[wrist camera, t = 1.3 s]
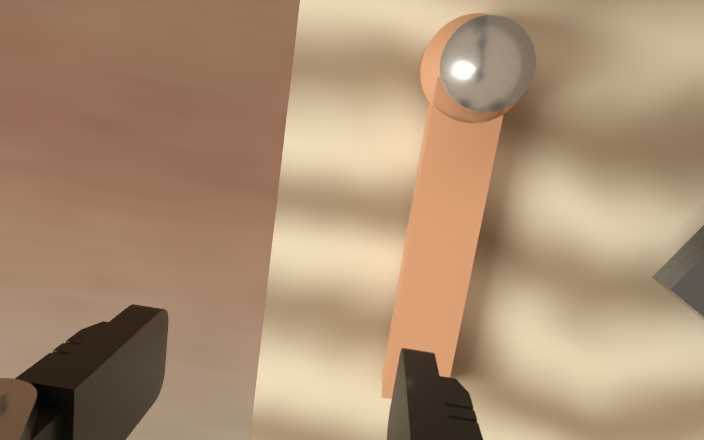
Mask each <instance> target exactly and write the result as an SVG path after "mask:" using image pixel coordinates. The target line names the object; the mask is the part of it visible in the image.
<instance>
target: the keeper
mask: <svg viewBox="0 0 704 440" xmlns="http://www.w3.org/2000/svg"><path fill="white" fill-rule="evenodd" d="M652 278H653V279H654V280H655V281H656V282H657V283H659V284H660V285H661V286H662V287H663V288H665V289H666V290H667V291H668V292H670V293H671V294H672V295H673V296H674V297H676V298H677V299H678V300H679V301H680V302H682V303H683V304H684V305H685V306H687V307H688V308H689V309H690V310H691V311H693V312H694V313H695V314H696V315H697V316H699V317H700V318H701V319H702V320H704V225H703V226H702V227H701V228H700V229H699V230H698V231H697V232H696V233H695V234H694V235H693V236H692V237H691V238H690V239H689V240H688V241H687V242H686V243H685V244H684V245H683V246H682V247H681V248H680V249H679V250H678V251H677V252H676V253H675V254H674V255H673V256H672V257H671V258H670V260H669V261H668V262H667V263H666V264H665V265H664V266H663V267H662V268H661V269H660V270H659V271H658V272H657V273H656V274H655V275H654V276H653V277H652Z"/></svg>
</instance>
